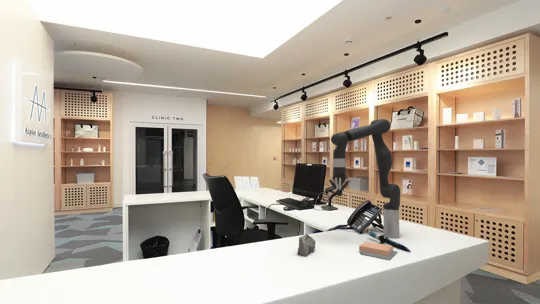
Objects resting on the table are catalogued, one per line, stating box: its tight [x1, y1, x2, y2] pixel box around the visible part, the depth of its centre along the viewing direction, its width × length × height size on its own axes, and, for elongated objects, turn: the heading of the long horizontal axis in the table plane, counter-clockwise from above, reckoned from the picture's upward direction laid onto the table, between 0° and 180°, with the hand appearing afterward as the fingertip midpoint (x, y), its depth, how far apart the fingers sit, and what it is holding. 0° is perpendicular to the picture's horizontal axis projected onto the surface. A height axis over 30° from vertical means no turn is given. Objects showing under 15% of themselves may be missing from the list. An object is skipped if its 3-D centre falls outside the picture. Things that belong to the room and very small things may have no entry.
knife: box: [366, 229, 412, 253], centre depth 155 cm, size 31×3×4 cm, turn 21°
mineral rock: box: [297, 233, 316, 257], centre depth 140 cm, size 13×11×10 cm
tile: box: [358, 241, 394, 257], centre depth 141 cm, size 10×3×14 cm
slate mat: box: [360, 250, 398, 261], centre depth 140 cm, size 15×14×1 cm
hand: (339, 195), depth 160 cm, fingers closed
